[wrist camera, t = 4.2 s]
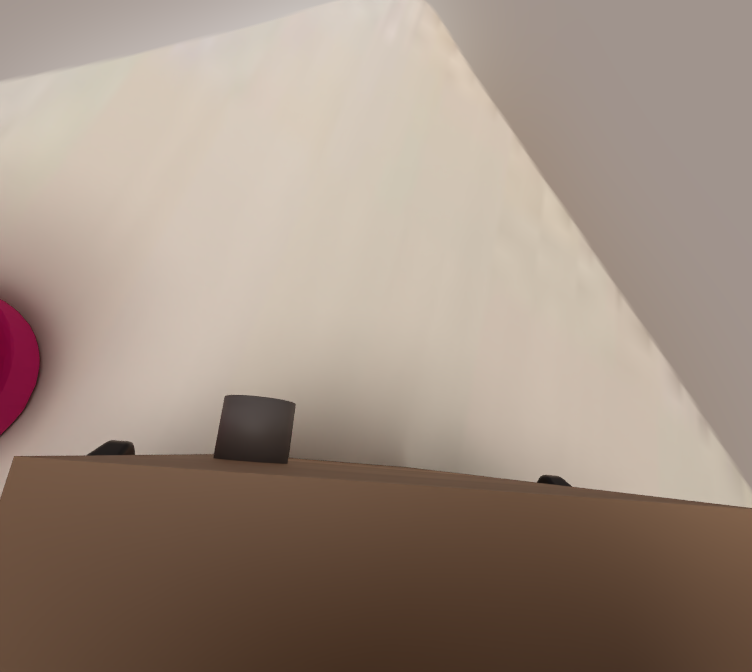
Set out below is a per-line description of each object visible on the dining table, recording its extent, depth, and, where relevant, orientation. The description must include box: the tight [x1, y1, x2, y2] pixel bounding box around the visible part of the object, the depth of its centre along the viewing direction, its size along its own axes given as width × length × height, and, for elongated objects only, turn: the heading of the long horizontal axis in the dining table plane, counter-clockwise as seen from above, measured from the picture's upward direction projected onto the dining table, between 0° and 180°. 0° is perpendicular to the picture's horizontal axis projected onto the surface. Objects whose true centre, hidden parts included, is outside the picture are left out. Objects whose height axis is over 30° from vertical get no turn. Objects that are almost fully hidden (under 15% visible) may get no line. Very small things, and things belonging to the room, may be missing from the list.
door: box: [0, 395, 752, 672], centre depth 9 cm, size 4×6×13 cm, turn 85°
